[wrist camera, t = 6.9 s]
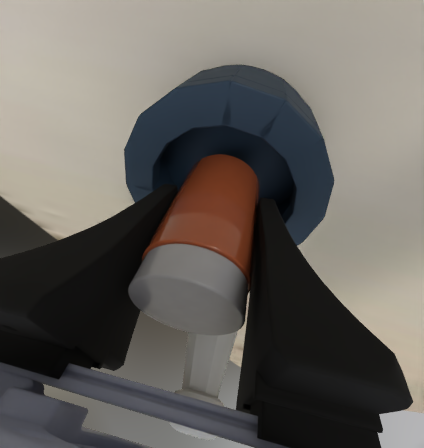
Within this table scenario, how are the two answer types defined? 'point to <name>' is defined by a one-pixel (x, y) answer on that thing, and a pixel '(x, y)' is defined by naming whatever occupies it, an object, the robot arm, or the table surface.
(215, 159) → the shaker
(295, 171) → the dark blue bowl
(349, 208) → the table surface
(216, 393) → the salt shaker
